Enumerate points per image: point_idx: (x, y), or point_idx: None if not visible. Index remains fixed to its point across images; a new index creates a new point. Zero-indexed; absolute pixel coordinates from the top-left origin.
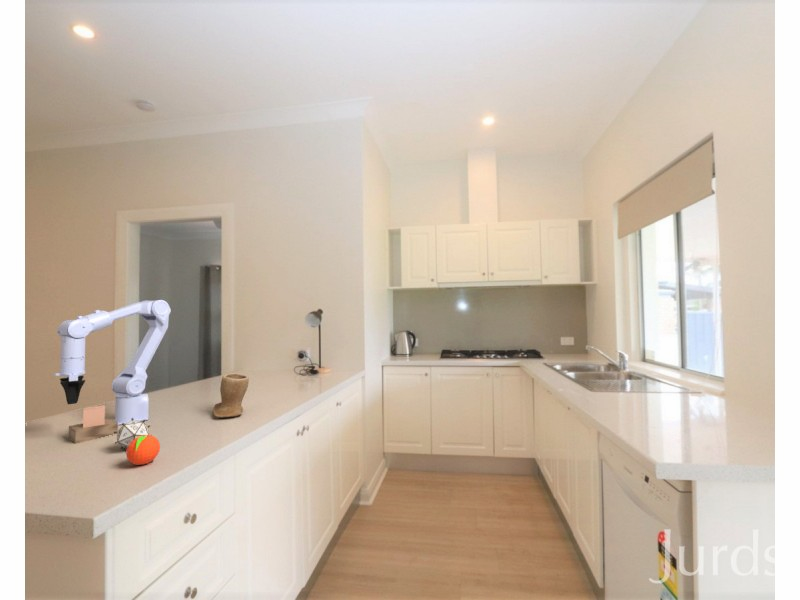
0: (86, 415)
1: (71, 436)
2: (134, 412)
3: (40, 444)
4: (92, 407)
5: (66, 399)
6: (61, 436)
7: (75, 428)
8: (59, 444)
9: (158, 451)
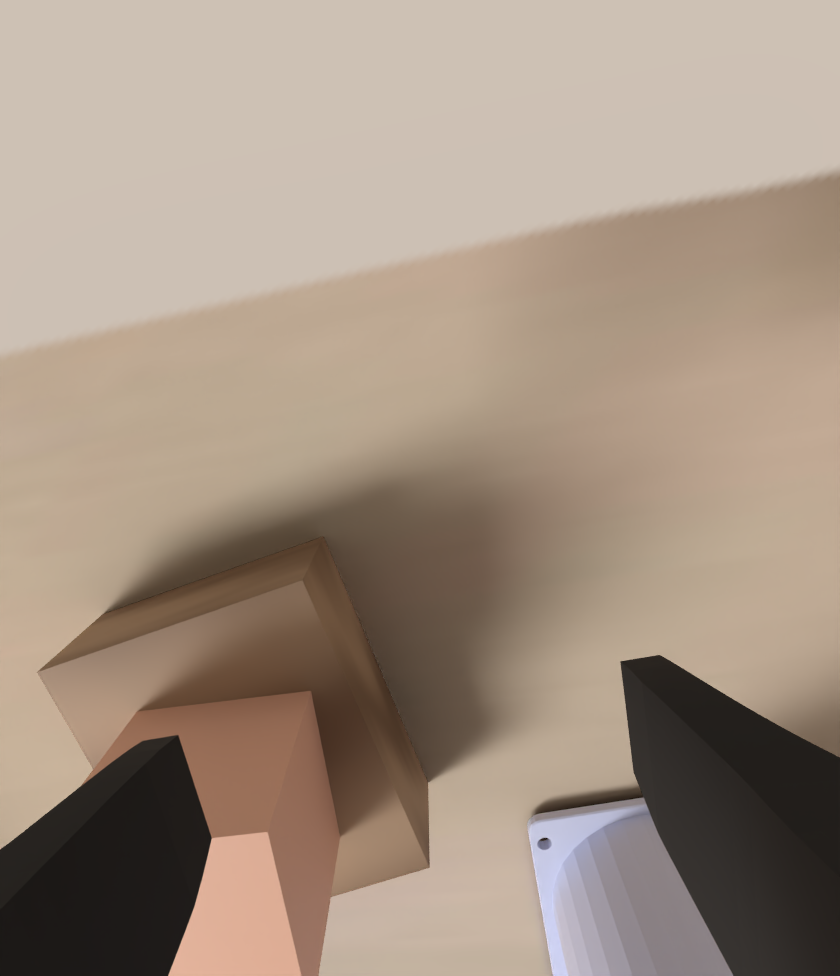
0: None
1: (216, 584)
2: None
3: (235, 359)
4: (225, 920)
5: (72, 796)
6: (429, 471)
7: (148, 654)
8: (144, 506)
9: None
